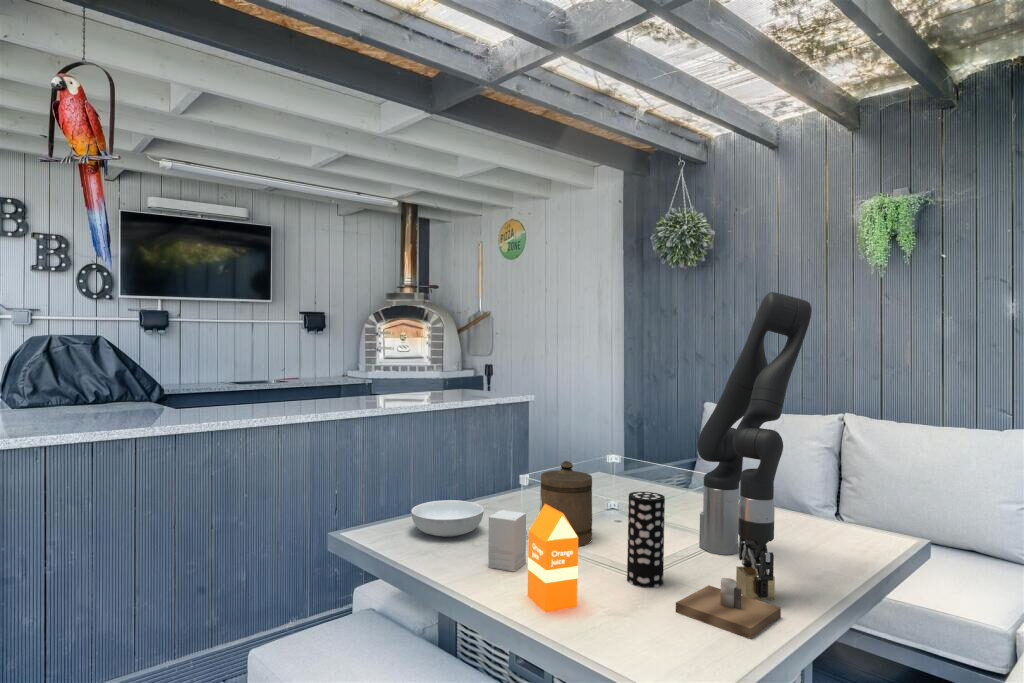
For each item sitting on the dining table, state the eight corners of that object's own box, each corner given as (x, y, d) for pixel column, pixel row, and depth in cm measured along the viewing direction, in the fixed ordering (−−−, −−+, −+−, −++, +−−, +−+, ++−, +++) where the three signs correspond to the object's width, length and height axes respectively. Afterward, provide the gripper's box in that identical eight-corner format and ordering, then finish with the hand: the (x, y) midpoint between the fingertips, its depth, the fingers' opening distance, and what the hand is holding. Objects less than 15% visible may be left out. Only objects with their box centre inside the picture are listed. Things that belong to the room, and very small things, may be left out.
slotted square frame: (746, 599, 138) (746, 576, 138) (736, 588, 144) (736, 566, 144) (774, 599, 138) (774, 577, 138) (763, 588, 144) (763, 567, 144)
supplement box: (526, 563, 158) (527, 512, 158) (514, 572, 151) (515, 520, 151) (500, 558, 161) (501, 509, 161) (486, 567, 154) (487, 516, 154)
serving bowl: (422, 520, 194) (422, 498, 194) (488, 524, 191) (489, 501, 191) (401, 541, 173) (401, 516, 173) (475, 546, 170) (476, 520, 170)
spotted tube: (642, 590, 142) (644, 501, 142) (619, 577, 149) (621, 493, 149) (670, 584, 146) (672, 498, 146) (647, 572, 153) (648, 490, 153)
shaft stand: (675, 612, 130) (676, 578, 130) (708, 594, 140) (709, 562, 140) (750, 638, 119) (751, 602, 119) (780, 617, 129) (781, 583, 129)
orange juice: (544, 612, 129) (546, 515, 129) (526, 596, 137) (528, 504, 137) (577, 606, 132) (579, 511, 132) (558, 591, 140) (560, 501, 140)
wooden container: (561, 528, 188) (563, 455, 188) (602, 539, 178) (603, 462, 178) (528, 538, 178) (529, 461, 178) (569, 551, 167) (570, 469, 167)
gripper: (786, 526, 134) (785, 603, 134) (760, 508, 148) (759, 578, 148) (751, 525, 134) (750, 602, 134) (728, 508, 148) (727, 577, 148)
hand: (754, 589), depth 141 cm, fingers open, 7 cm apart
